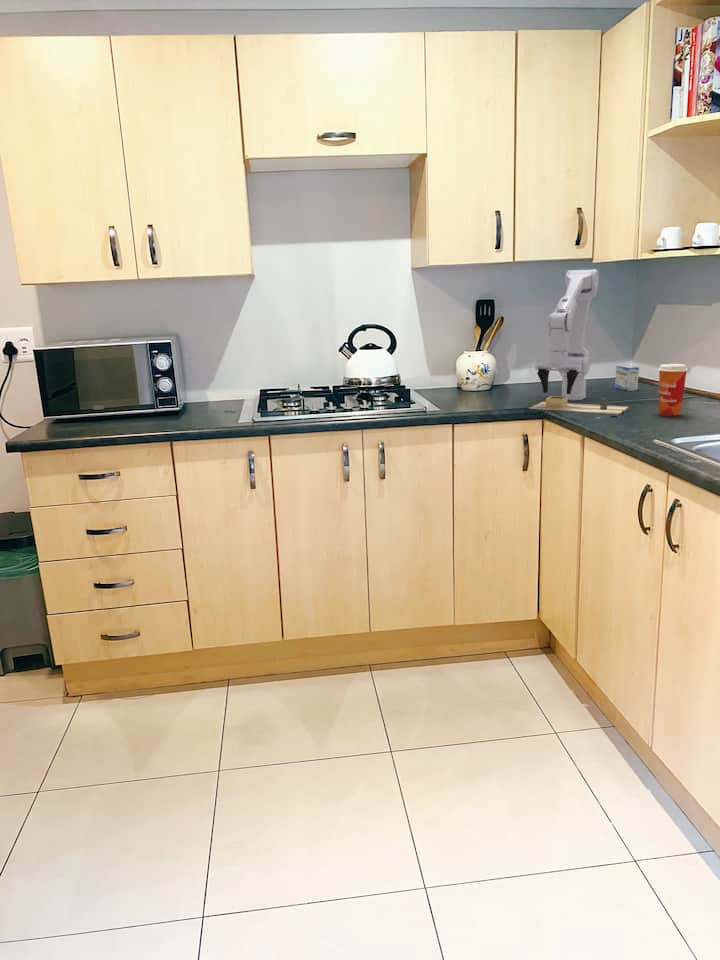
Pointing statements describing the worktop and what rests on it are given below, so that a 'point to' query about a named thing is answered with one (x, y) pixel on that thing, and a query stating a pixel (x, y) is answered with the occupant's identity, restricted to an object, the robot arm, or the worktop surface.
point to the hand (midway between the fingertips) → (557, 393)
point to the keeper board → (586, 407)
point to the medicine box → (626, 378)
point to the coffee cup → (671, 388)
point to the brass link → (556, 401)
